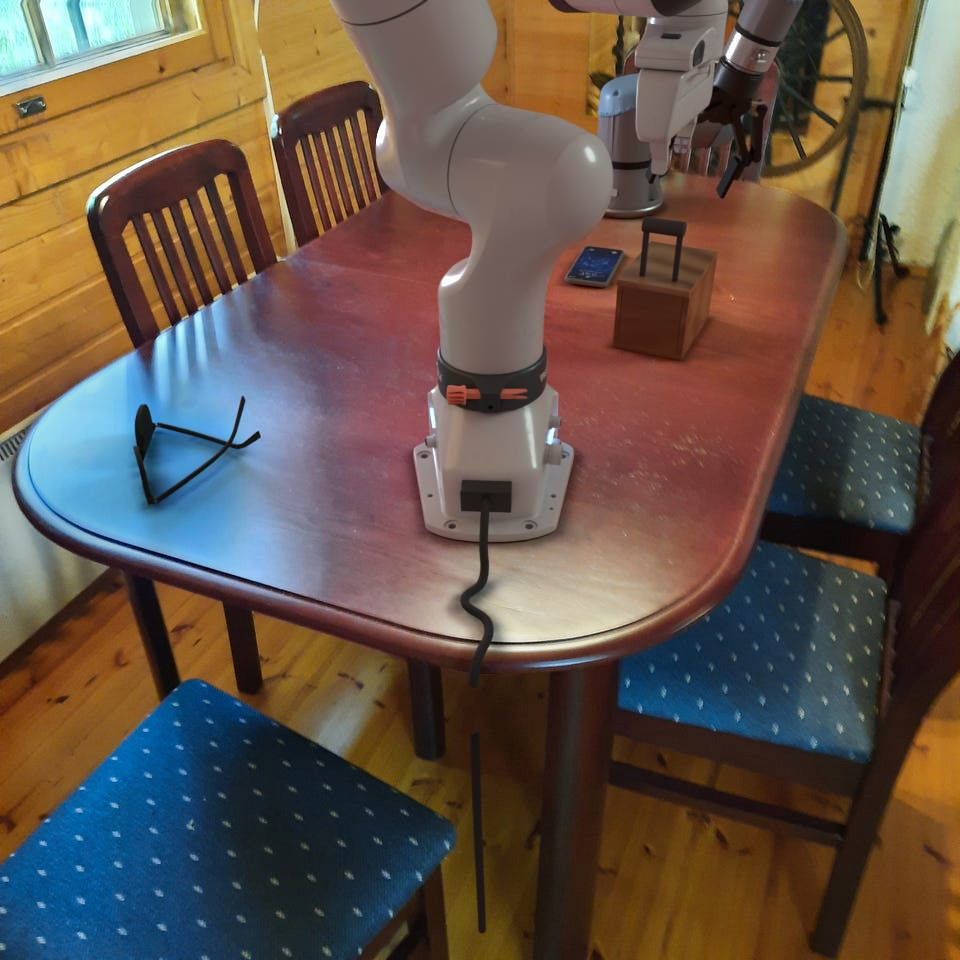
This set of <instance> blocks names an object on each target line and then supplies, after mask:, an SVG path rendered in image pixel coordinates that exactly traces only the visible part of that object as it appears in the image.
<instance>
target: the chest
mask: <svg viewBox="0 0 960 960" xmlns="http://www.w3.org/2000/svg"><path fill="white" fill-rule="evenodd" d="M717 260H718V257H717V258H716V260H715V261H714V262H713V264H712V265H711V267H710V268H709V270H708V271H707V272H706V274H705V275H704V277H703V278H702V279H701V281H700V282H699V284H698V285H697V287H696V288H695V289H694V291H693V292H692V294H691V295H690V296H689V298H686V297H681V296H675V295H669V294H664V293H658V292H652V291H647V290H641V289H635V288H629V287H624V286H618V285H616V297H615V299H616V300H615V312H614V322H613V323H614V324H613V335H612V336H613V337H612V348H617V349H622V350H627V351H631V352H636V353H642V354H645V355H651V356H655V357H659V358H660V357H662V358H665V359H671V360H675V361H680V362H681V361H682V360H683V359H684V356H686V354H687V352H688V350H689V349H690V347H691V345H693V343H694V341H695V339H696V338H697V336H698V335H699V333H700V332H701V330H702V329H703V327H704V326H705V324H706V323H707V320H708V318H709V315H710V314H709V313H710V308H711V302H712V295H713V288H714V281H715V275H716V270H717V269H716V268H717V262H718V261H717Z"/></svg>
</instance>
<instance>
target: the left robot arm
mask: <svg viewBox="0 0 960 960" xmlns="http://www.w3.org/2000/svg"><path fill="white" fill-rule="evenodd" d="M328 1H329V3H330V5H331V7H332V9H333V10H334V12H335V14H336V16H337V18H338V20H339V21H340V23H341V25H342V27H343V28H344V30H345V33H346V34H347V36H348V38H349V40H350V42H351V44H352V45H353V47H354V49H355V51H356V53H357V54H358V56H359V58H360V60H361V62H362V64H363V65H364V68H365V69H366V72H367V73H368V75H369V77H370V79H371V81H372V83H373V84H374V87H375V89H376V91H377V93H378V96H379V99H380V102H381V105H382V109H383V113H384V117H383V119H382V121H381V123H380V126H379V129H378V132H377V136H376V143H375V159H376V165H377V170H378V172H379V174H380V176H381V179H382V180H383V181H384V183H385V185H386V186H388V187H389V189H390V190H392V191H394V192H395V193H397V194H398V195H399V196H400V197H402V198H404V199H405V200H406V201H408V202H409V203H412V205H415V206H417V207H418V208H420V209H422V210H424V211H426V212H430V213H433V214H436V215H440V216H443V217H446V218H449V219H452V220H456V221H459V222H463V223H465V224H468V225H469V228H470V231H471V236H472V237H471V239H472V240H471V248H470V254H469V256H467V257H465V258H463V259H461V260H459V261H458V262H455V264H454V265H452V266H451V267H450V268H449V269H448V270H447V271H446V273H445V274H444V275H443V277H442V278H441V280H440V282H439V285H438V288H437V307H438V327H439V342H440V343H439V344H440V345H439V346H438V348H437V354H436V356H437V358H436V363H435V364H436V376H437V384H436V385H435V387H434V386H433V388H432V389H431V390H430V391H428V392H427V406H428V407H427V409H428V424H429V435H426V436H425V438H424V442H422V443H419V444H417V445H416V446H415V447H414V448H413V454H412V455H413V457H412V458H413V464H414V470H415V475H416V476H415V477H416V480H417V487H418V492H419V498H420V499H419V500H420V503H421V504H420V505H421V510H422V516H423V522H424V526H425V529H426V530H427V531H428V532H429V533H432V534H434V535H437V536H440V537H443V538H448V539H452V540H457V541H466V542H477V543H478V552H479V553H478V554H479V575H478V577H477V578H478V579H477V580H476V581H475V583H474V584H472V585H471V586H470V587H468V588H467V589H466V590H464V591H463V592H462V593H461V595H460V600H459V601H460V606H461V608H462V609H463V611H465V612H466V613H467V614H468V615H470V616H471V617H474V618H476V619H477V620H479V621H480V622H481V623H482V625H483V635H482V638H481V640H480V642H479V644H478V645H477V647H476V649H475V651H474V653H473V657H472V659H471V662H470V668H469V676H468V685H469V687H470V688H472V689H475V688H477V687H478V686H479V683H480V673H481V667H482V664H483V660H484V657H485V655H486V653H487V651H488V650H489V647H490V645H491V644H492V642H493V638H494V630H495V628H494V623H493V621H492V618H491V617H490V616H489V615H488V614H487V613H486V612H485V611H484V610H482V609H480V608H479V607H476V606H475V605H473V604H472V603H471V601H470V599H471V598H472V597H473V596H475V595H476V594H478V593H480V592H481V591H482V590H483V589H484V588H485V586H486V585H487V582H488V579H489V574H490V557H489V543H500V542H501V543H502V542H503V543H506V542H518V541H527V540H531V539H536V538H539V537H543V536H546V535H548V534H550V533H552V532H554V531H556V530H557V527H558V525H559V520H560V518H561V517H560V516H561V512H562V508H563V504H564V500H565V497H566V492H567V488H568V483H569V480H570V476H571V472H572V469H573V468H572V467H573V464H574V459H575V450H574V447H573V446H571V445H570V444H568V443H566V442H563V441H561V439H560V438H558V430H560V429H561V428H562V416H559V392H557V391H556V390H555V389H554V388H553V387H552V386H551V385H550V384H549V383H548V382H547V379H548V367H549V361H548V356H547V355H548V354H547V353H548V351H547V347H546V345H545V344H544V330H545V329H544V327H545V314H546V313H545V312H546V300H547V299H546V298H547V291H548V287H549V282H550V278H551V275H552V273H553V270H554V268H555V266H556V264H557V263H558V261H559V259H560V258H561V256H562V255H563V254H564V253H565V251H567V250H569V248H571V247H572V246H573V245H575V244H576V243H579V242H581V240H584V238H586V237H587V236H589V235H590V234H591V233H592V232H593V231H594V230H595V228H596V227H597V226H598V225H599V224H600V222H601V221H602V219H603V217H605V216H604V214H605V212H606V210H607V208H608V205H609V202H610V199H611V195H612V190H613V167H612V162H611V158H610V155H609V152H608V150H607V147H606V145H605V144H604V142H603V141H602V140H601V139H600V138H599V137H597V135H595V134H594V133H592V132H590V131H588V130H586V129H584V128H582V127H581V126H578V125H576V124H574V123H572V122H570V121H568V120H566V119H564V118H563V117H560V116H557V115H553V114H548V113H543V112H539V111H533V110H527V109H523V108H518V107H513V106H509V105H504V104H502V103H499V102H497V101H495V100H494V99H493V98H492V97H491V96H489V94H488V93H487V92H486V90H485V89H484V88H483V86H482V83H481V81H482V80H483V78H484V77H485V76H486V74H487V73H488V71H489V69H490V67H491V65H492V62H493V58H494V56H495V53H496V52H495V51H496V49H497V44H498V26H497V22H496V19H495V17H494V14H493V12H492V8H491V6H490V4H489V1H488V0H328ZM547 2H548V3H549V4H550V5H551V6H552V8H554V9H555V10H556V11H558V12H561V13H564V14H591V13H596V14H604V15H612V16H613V15H615V16H624V17H638V18H647V19H646V25H645V29H644V33H643V35H642V38H641V39H640V41H639V42H638V44H637V45H636V49H635V52H634V66H635V68H639V69H640V70H639V75H638V81H637V93H636V132H637V136H638V139H639V140H640V141H643V142H650V151H651V157H652V165H651V172H652V173H653V174H658V175H663V174H665V173H666V172H667V171H668V169H669V168H670V163H671V156H670V155H669V152H670V150H669V145H670V143H671V138H672V137H673V136H675V135H676V134H677V137H676V138H675V143H674V149H673V152H674V153H676V154H681V155H682V154H687V152H689V151H690V150H691V149H690V147H691V139H692V135H693V132H694V129H695V126H696V122H697V116H698V114H699V113H701V112H702V111H703V110H704V109H705V108H706V107H707V106H708V105H709V103H710V100H711V96H712V89H713V79H714V68H715V59H717V58H719V57H721V55H722V51H723V43H724V36H725V34H726V29H727V28H726V26H727V21H728V20H727V19H728V13H729V12H728V11H729V2H728V0H547ZM725 37H726V36H725ZM469 741H470V742H469V745H470V746H469V747H470V777H471V778H470V779H471V780H470V781H471V784H470V785H471V804H472V806H471V807H472V808H471V809H472V810H471V811H472V830H473V850H474V851H473V852H474V868H475V870H474V871H475V888H476V889H475V891H476V910H477V929H478V933H479V934H485V933H486V931H487V918H486V917H487V916H486V889H485V865H484V864H485V862H484V861H485V860H484V841H483V840H484V839H483V838H484V837H483V816H482V815H483V812H482V811H483V809H482V808H483V807H482V775H481V771H482V770H481V769H482V768H481V731H478V732H475V733H471V734H469Z"/></svg>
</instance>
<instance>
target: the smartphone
mask: <svg viewBox="0 0 960 960" xmlns="http://www.w3.org/2000/svg"><path fill="white" fill-rule="evenodd" d="M624 256H625V252H624V250H622V249H619V248H618V249H616V248H609V247H600V246H592V245H586V246H584V247H583V249H581V251H580V253H579V255H578V256H577V257H576V259H575V261H574V262H573V264H572V265H571V267H569V270H568V271H567V273H566V275H565V276H564V282H566V283H567V284H573V285H581V286H588V287H594V288H595V287H596V288H607V287H608V286H609V284H610V283H611V282H612V279H613V277H614V276H615V274H616V272H617V270H618V268H619V266H620V264H621V262H622V260H623V258H624Z"/></svg>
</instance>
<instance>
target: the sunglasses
mask: <svg viewBox="0 0 960 960" xmlns="http://www.w3.org/2000/svg"><path fill="white" fill-rule="evenodd" d="M245 404H246V398H245V396H244V395H241V396H240V401H239V405H238V408H237V409H238V410H237V413H236V417H235V421H234V425H233V429H232V432H231V435H230V437H229V439H228V440H227V441H226V440H223V439H220V438H217V437H214V436H211V435H208V434H204V433H201V432H198V431H195V430H192V429H188V428H184V427H180V426H176V425H172V424H169V423H164V422H159V421H157V422H153V418H152V414H151V411H150V408H149V406H148V404H146V403H142V404H140V405H139V406H138V409H137V411H136V413H135V418H134V436H135V444H136V445H133V447H132V448H133V452H134V455H135V460H136V463H137V467H138V471H139V475H140V479H141V485H142V489H143V493H144V497H145V500H146V503H147V505H148V506H151V505H154V504H155V501H156V503H157V504H160V503H162V501H164V500H165V499H167V498H168V497H170V496H171V495H172V494H174V493H175V492H177V491H178V490H179V489H181V488H182V487H184V486H185V485H187V484H188V483H189V482H191V481H192V480H193V479H194V478H196V477H197V476H198V475H200V474H202V473H203V472H204V471H205V470H206V469H208V467H210V466H211V465H212V464H213V463H215V462H216V461H217V460H218V459H220V457H222V455H223V454H224V453H225V452H226V451H228V449H229V448H231V449H233V450H242V449H246V448H247V447H249V446H250V445H252V444H254V443H255V442H256V441H258V440H260V439H261V438H262V435H261V432H260V430H256V431H255V432H254V433H253V434H252V435H250V436H249V437H248V438H247V439H246V440H245V441H244V442H241V443H233V442H234V441H235V438H236V435H237V434H238V429H239V426H240V423H241V419H242V415H243V412H244V409H245ZM157 428H160V429H164V430H168V431H172V432H175V433H179V434H183V435H188V436H191V437H195V438H199V439H202V440H205V441H209V442H211V443H215V444H218V445H221V446H223V447H221V449H220V450H219V451H217V452H216V453H215V454H214V455H213V456H212V457H211V458H209V459H208V460H207V461H206V462H204V463H203V464H202V465H200V466H199V467H198V468H196V469H195V470H193V471H192V472H191V473H189V474H188V475H187V476H186V477H184V478H183V479H180V481H178V482H177V483H176V484H174V485H172V486H171V487H169V488H168V489H166V490H165V491H163V492H162V493H161V494H160V495H158V496H157V497H154V495H152V491H151V487H150V484H149V479H148V474H147V470H146V467H145V463H144V461H145V459H146V456H147V453H148V450H149V448H150V445H151V442H152V438H153V435H154V432H155V430H157Z"/></svg>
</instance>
